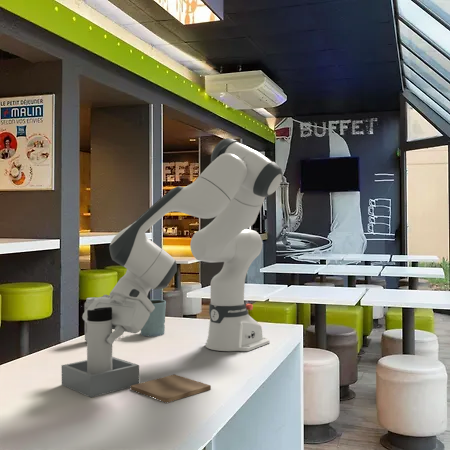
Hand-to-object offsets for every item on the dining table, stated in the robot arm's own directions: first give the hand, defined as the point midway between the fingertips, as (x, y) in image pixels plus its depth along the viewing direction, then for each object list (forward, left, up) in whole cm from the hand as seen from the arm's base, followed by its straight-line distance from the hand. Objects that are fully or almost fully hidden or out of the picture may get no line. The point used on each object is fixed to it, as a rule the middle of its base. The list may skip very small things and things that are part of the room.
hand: (97, 340), depth 140 cm
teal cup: (-48, -40, -12) cm, 63 cm away
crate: (-1, 0, -11) cm, 11 cm away
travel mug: (-1, 0, -12) cm, 12 cm away
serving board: (-11, +16, -11) cm, 22 cm away
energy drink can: (-26, -44, -12) cm, 52 cm away
